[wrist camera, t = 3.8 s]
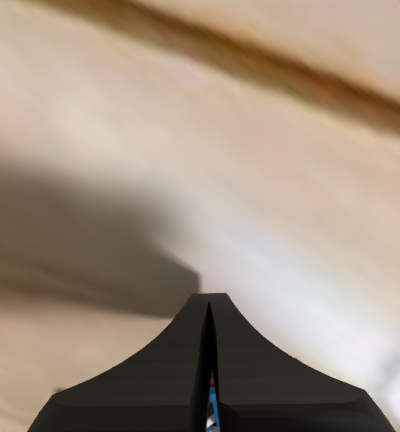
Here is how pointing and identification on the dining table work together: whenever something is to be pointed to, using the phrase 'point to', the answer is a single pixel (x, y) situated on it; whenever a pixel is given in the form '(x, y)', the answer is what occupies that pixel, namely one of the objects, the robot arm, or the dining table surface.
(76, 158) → the dining table surface
